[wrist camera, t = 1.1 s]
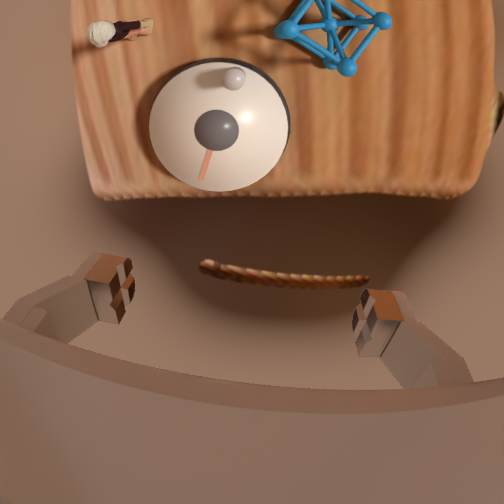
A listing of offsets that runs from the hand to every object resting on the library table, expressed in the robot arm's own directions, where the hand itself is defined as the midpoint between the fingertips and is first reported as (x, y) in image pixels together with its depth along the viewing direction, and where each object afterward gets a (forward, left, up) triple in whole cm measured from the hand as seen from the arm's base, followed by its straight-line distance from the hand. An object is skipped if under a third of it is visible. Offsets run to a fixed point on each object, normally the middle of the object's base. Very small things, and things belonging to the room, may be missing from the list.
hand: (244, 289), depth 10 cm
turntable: (+6, -3, -34) cm, 35 cm away
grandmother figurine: (-5, -19, -36) cm, 41 cm away
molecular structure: (-13, +5, -37) cm, 39 cm away
